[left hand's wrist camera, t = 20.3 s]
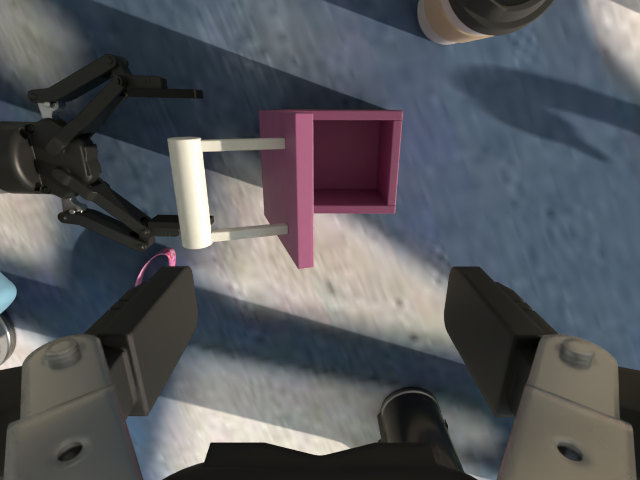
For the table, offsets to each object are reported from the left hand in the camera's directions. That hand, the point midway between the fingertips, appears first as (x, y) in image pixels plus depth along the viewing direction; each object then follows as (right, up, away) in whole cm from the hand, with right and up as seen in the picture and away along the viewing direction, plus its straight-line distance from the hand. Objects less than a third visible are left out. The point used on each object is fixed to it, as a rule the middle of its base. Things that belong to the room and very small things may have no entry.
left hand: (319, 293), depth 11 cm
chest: (+1, +12, +33) cm, 35 cm away
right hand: (-12, +10, +27) cm, 32 cm away
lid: (-2, +7, +18) cm, 20 cm away
